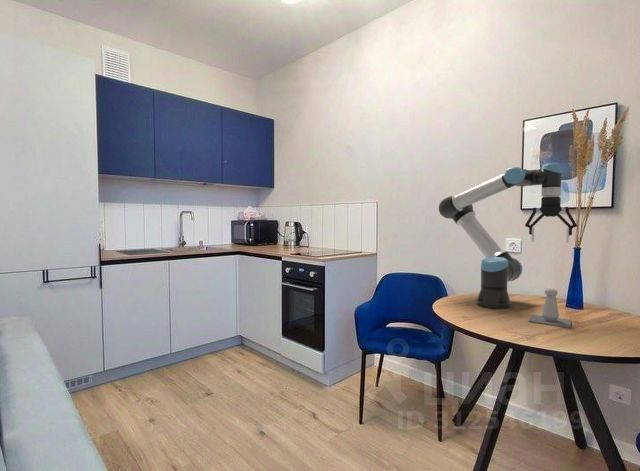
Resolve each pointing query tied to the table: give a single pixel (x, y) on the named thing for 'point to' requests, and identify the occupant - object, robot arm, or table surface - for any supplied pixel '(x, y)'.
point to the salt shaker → (550, 306)
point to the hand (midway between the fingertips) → (549, 242)
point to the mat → (559, 321)
